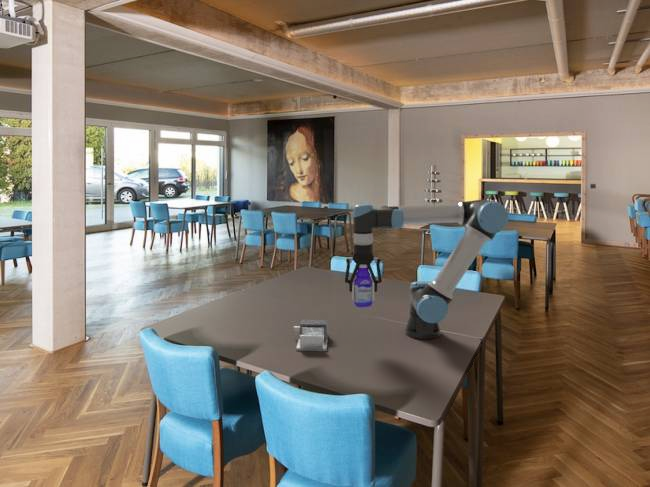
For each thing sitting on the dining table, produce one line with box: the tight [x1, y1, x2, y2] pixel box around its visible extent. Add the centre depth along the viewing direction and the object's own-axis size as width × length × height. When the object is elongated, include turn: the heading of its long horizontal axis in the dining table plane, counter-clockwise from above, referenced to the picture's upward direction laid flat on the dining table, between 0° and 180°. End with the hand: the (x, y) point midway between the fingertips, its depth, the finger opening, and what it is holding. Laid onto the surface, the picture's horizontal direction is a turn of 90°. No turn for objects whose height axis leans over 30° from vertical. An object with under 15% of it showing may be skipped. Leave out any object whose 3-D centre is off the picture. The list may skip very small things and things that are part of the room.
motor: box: [293, 319, 329, 340], centre depth 205 cm, size 14×6×7 cm, turn 88°
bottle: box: [353, 264, 373, 308], centre depth 195 cm, size 7×6×17 cm
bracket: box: [295, 327, 329, 352], centre depth 196 cm, size 12×11×6 cm
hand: (363, 299), depth 196 cm, fingers closed on bottle, 7 cm apart
